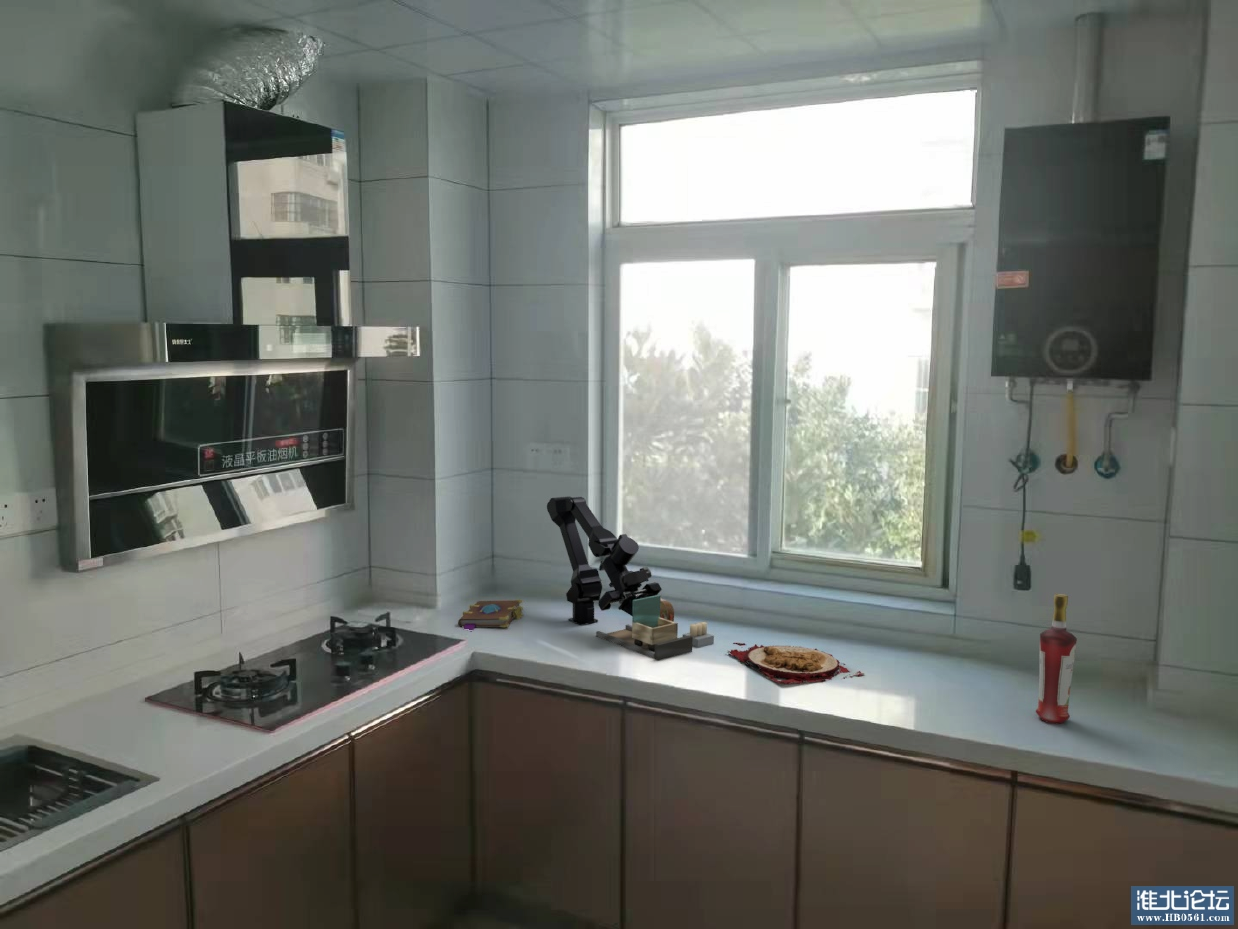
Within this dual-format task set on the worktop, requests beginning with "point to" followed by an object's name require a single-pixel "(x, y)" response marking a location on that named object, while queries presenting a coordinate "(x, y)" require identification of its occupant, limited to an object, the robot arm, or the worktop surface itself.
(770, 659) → the plate with food
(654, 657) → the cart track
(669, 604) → the tin
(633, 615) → the cart
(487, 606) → the book
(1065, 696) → the liquor
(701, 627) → the grey block with cylinders
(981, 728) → the worktop surface
